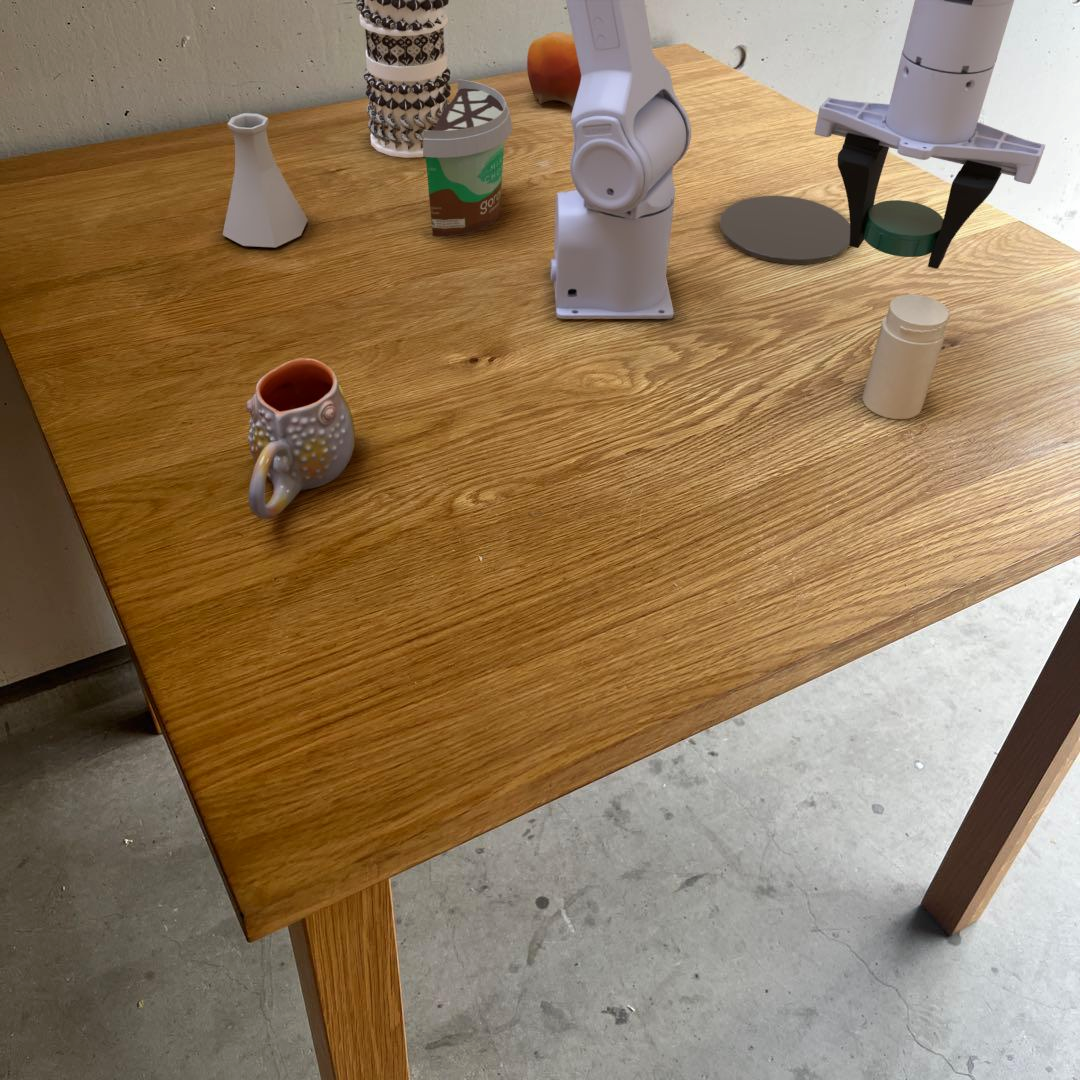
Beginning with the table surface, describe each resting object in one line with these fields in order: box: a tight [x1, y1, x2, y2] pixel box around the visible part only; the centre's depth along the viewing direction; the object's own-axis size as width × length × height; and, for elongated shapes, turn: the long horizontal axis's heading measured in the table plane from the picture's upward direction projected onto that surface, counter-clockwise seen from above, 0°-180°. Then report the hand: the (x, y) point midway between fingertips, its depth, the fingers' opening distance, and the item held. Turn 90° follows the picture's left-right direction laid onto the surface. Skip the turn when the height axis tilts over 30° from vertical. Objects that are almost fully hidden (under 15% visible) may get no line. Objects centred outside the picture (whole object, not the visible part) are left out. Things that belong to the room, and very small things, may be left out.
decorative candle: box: [356, 0, 452, 159], centre depth 104 cm, size 9×9×25 cm
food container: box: [422, 78, 513, 237], centre depth 98 cm, size 12×6×10 cm, turn 168°
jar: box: [861, 293, 951, 420], centre depth 79 cm, size 4×4×8 cm
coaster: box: [718, 195, 851, 265], centre depth 100 cm, size 12×12×1 cm
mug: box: [245, 357, 356, 520], centre depth 71 cm, size 12×7×7 cm, turn 167°
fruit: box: [526, 31, 581, 109], centre depth 119 cm, size 8×8×8 cm
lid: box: [863, 199, 944, 258], centre depth 78 cm, size 5×5×2 cm
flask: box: [222, 112, 309, 248], centre depth 95 cm, size 7×7×10 cm
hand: (895, 251), depth 79 cm, fingers closed on lid, 5 cm apart
